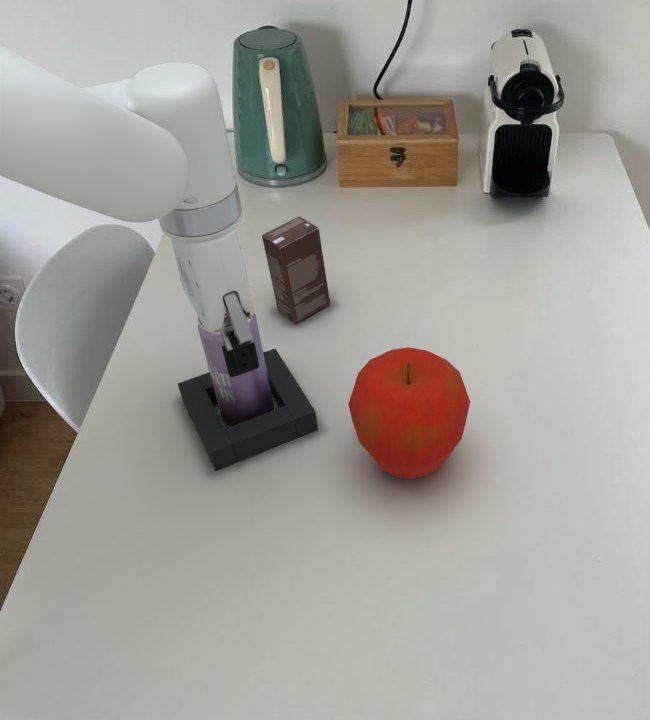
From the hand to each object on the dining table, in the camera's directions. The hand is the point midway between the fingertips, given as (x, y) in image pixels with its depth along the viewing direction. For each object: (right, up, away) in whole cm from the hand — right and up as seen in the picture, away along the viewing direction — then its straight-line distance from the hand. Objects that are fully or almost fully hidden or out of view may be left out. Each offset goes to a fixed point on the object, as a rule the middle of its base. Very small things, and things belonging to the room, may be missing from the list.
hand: (233, 351), depth 86 cm
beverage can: (0, -7, +7) cm, 10 cm away
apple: (+19, -12, +1) cm, 22 cm away
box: (+5, +6, +21) cm, 22 cm away
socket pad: (0, -7, +7) cm, 10 cm away
